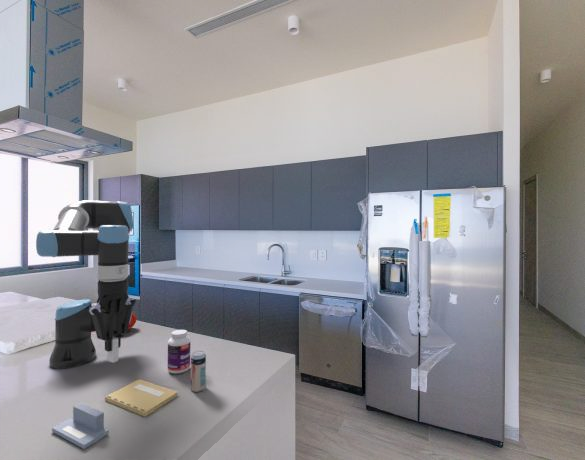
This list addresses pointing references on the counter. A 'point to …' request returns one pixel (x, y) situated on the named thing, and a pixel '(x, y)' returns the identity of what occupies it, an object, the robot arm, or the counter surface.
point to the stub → (83, 426)
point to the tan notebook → (141, 397)
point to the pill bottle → (178, 352)
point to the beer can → (198, 371)
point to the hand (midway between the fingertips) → (112, 360)
